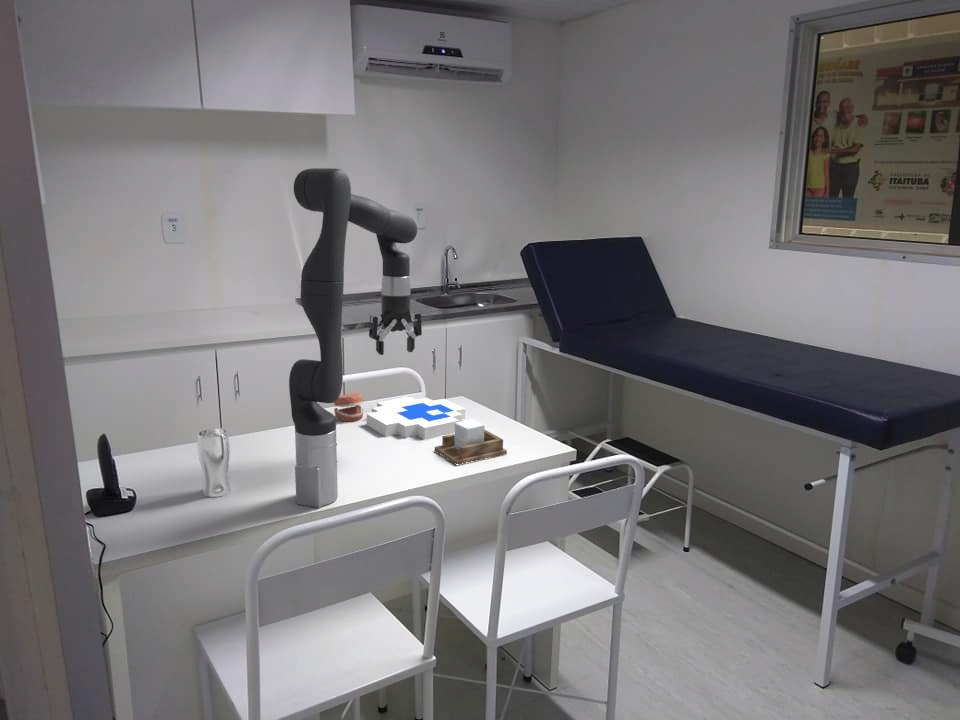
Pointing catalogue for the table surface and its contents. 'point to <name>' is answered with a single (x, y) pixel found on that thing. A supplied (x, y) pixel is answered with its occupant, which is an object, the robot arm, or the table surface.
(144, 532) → the table surface
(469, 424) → the product box
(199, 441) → the beer glass
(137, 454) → the table surface
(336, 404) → the dentures
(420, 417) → the pixel art tile
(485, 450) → the U-rest
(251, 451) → the table surface
